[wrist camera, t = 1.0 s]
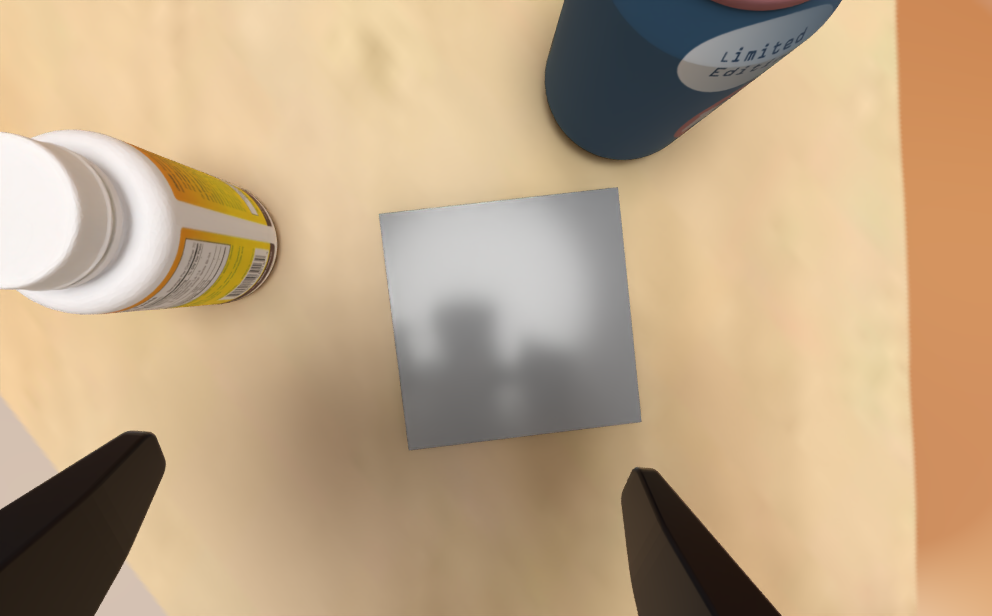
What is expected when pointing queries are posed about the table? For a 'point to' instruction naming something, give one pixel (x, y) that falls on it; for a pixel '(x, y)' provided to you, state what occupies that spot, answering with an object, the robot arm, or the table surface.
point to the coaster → (511, 317)
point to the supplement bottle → (123, 227)
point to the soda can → (663, 64)
